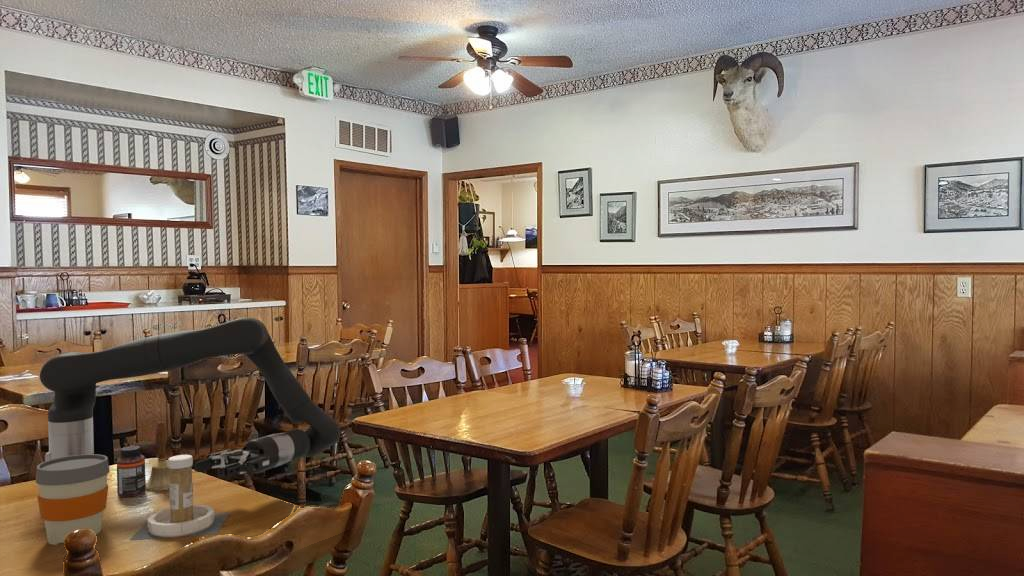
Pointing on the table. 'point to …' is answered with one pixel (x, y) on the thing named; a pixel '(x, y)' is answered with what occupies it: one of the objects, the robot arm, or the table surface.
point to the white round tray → (163, 527)
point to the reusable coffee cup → (72, 494)
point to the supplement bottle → (131, 473)
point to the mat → (213, 529)
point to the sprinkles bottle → (181, 488)
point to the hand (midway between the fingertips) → (209, 469)
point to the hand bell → (160, 463)
